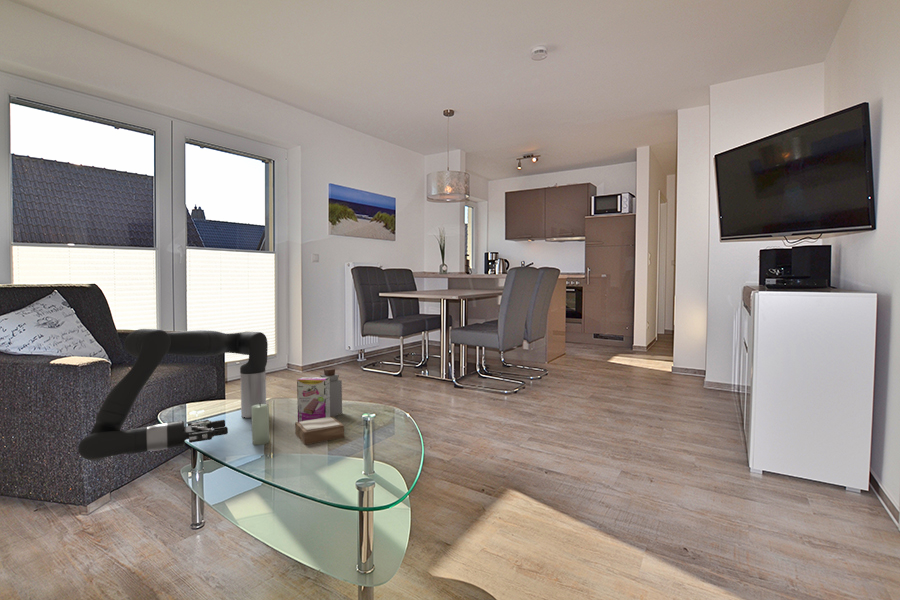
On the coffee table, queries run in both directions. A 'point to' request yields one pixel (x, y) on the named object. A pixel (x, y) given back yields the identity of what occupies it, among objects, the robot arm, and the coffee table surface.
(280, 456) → the coffee table surface
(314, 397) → the candy bar box
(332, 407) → the perfume bottle
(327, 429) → the walnut plinth
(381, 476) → the coffee table surface
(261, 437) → the pillar candle
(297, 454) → the coffee table surface
